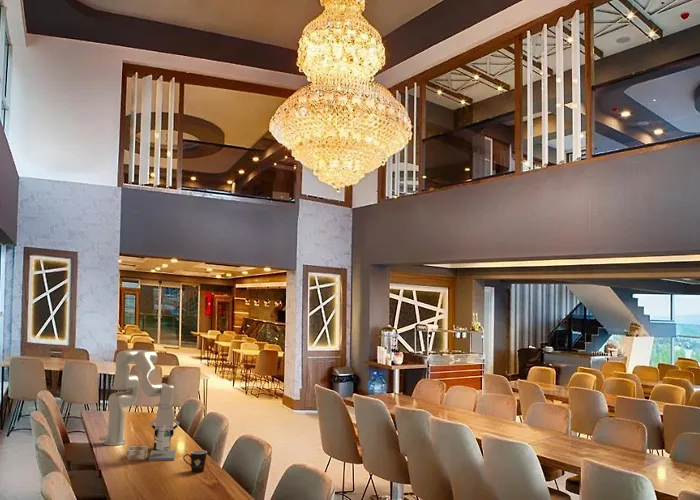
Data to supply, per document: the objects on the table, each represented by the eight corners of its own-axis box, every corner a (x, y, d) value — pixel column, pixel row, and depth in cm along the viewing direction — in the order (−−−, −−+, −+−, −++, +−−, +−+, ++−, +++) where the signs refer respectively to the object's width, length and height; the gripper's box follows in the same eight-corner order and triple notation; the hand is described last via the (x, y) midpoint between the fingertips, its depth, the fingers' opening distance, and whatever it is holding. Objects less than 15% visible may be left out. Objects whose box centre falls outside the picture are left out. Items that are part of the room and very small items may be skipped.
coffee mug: (208, 470, 316) (210, 451, 317) (199, 474, 307) (201, 454, 309) (190, 467, 319) (192, 448, 320) (181, 471, 311) (182, 452, 312)
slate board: (148, 461, 328) (148, 458, 328) (151, 453, 346) (151, 450, 346) (174, 460, 332) (174, 457, 332) (175, 452, 349) (175, 450, 349)
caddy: (126, 459, 329) (127, 450, 330) (128, 455, 339) (129, 446, 340) (145, 459, 332) (146, 450, 332) (147, 454, 342) (147, 446, 342)
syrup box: (162, 450, 335) (164, 425, 337) (155, 449, 338) (157, 423, 340) (170, 449, 340) (172, 423, 342) (163, 447, 343) (165, 422, 345)
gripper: (150, 407, 336) (147, 438, 334) (181, 407, 340) (178, 438, 338) (151, 405, 343) (148, 435, 341) (181, 405, 347) (179, 435, 346)
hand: (163, 436), depth 340 cm, fingers closed on syrup box, 8 cm apart
